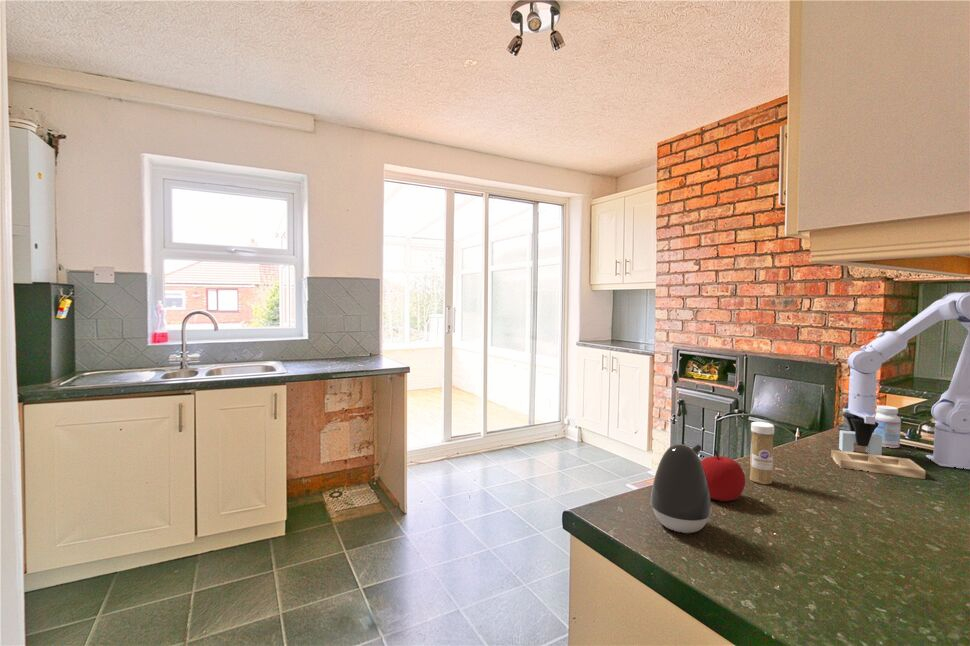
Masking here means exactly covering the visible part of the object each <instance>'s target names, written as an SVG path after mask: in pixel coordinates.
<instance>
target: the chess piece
mask: <svg viewBox="0 0 970 646" xmlns="http://www.w3.org/2000/svg"><path fill="white" fill-rule="evenodd" d="M843 408H844V409H848V403H846V404H844V407H843ZM845 415H852V414H851V413H848V412H844V411H843V414H842V416H843V421H842V424H841V425H840V424H839V425H837V426H836V428H837V429H838V432H839V433H840V430H844V431H851V430H850V426H849V423H848V421H847V419H846V417H845ZM839 437H840V436H838V437H837V439H838V440H839Z"/></svg>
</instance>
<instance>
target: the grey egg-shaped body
mask: <svg viewBox="0 0 970 646" xmlns="http://www.w3.org/2000/svg"><path fill="white" fill-rule="evenodd" d="M700 451H702V446H701V445H700V444H696V445H694V447H693V446H692V447H690V446H689V445H686V444H682V443H676V444H673V445H671V446H670V447H668V448H667V449H666V451H665V452H664V454H663V455H662V457H661V459H660V461H659V464H658V466H657V469H656V471H655V475H654V479H653V482H652V486H651V493H650V505H651V507H652V509H653V513H654V515H655V517H656V519H657V520H658V522H659V523H660V524H661V525H663V526H664V527H665V528H667V529H669V530H670V531H673V530H674V531H673V532H676V531H677V532H676V533H680V532H682V533H681V534H692V533H696V532H698V531H700V530H702V529H703V528H704V527H705V526H706V524H707V522H708V521H709V517H710V516H711V515H712V502H711V501H712V499H711V498H710V492H709V487H708V482H707V479H706V475H705V472H704V469H703V466H702V464H701V461H702V460H700V459H701V458H700V457H699V456H698V454H699V453H700Z"/></svg>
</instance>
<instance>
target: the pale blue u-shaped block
mask: <svg viewBox="0 0 970 646" xmlns="http://www.w3.org/2000/svg"><path fill="white" fill-rule="evenodd" d="M838 437H839V439H838V440H839V441H838V443H839V445H838V450H839V449H840V450H841V451H847V452H854V447H855V446H854V445H855V444H857V442H856V435H855V432H854V431H844V430H840V432H839V436H838ZM882 449H883V447H882V436H880V435H879V434H874V433H872V436H871V438H870V441H869V444H868V446H865V453H866V452H867V453H868V454H873V455H881V456H883V455H882V451H883V450H882ZM840 450H839V451H840ZM867 453H866V454H867Z"/></svg>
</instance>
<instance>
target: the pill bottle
mask: <svg viewBox="0 0 970 646" xmlns="http://www.w3.org/2000/svg"><path fill="white" fill-rule="evenodd" d="M875 411H877V412H876V416H875V422H877V423H879V425H878V426H877V428H876V429H875V430H874V432H873V433H874V434H879V435H880V436H882V448H886V447H889V448H888V449H891V448H892V449H899V448H900V446H901V445H900V444H901V427H902V419H901V417H900V416H899V415H898V413H899V408H898V407H896V406H890V405H884V404H883V405H876V408H875Z"/></svg>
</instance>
